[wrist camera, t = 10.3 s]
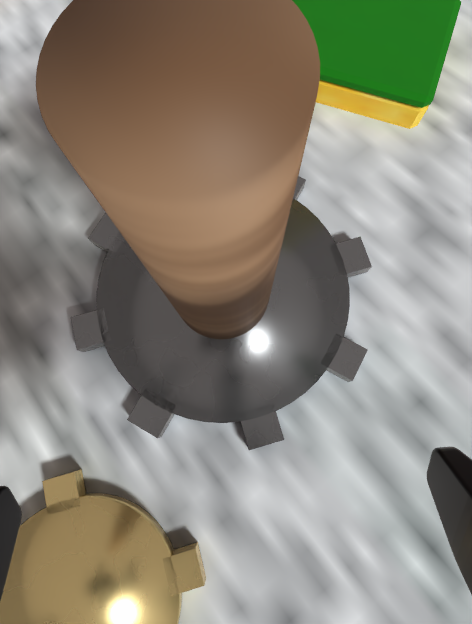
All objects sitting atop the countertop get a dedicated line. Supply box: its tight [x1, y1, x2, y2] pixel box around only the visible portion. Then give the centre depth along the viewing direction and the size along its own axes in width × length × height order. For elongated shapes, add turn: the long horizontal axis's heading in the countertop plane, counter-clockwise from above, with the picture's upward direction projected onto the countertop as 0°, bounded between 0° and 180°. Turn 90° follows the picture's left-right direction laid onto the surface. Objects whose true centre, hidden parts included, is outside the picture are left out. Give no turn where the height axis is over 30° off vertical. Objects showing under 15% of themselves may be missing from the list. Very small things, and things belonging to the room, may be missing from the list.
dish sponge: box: [292, 0, 461, 129], centre depth 22 cm, size 7×14×2 cm, turn 70°
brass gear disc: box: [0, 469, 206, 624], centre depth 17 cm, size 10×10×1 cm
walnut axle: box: [36, 0, 320, 339], centre depth 13 cm, size 4×4×13 cm
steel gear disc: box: [71, 176, 372, 450], centre depth 19 cm, size 14×14×1 cm
